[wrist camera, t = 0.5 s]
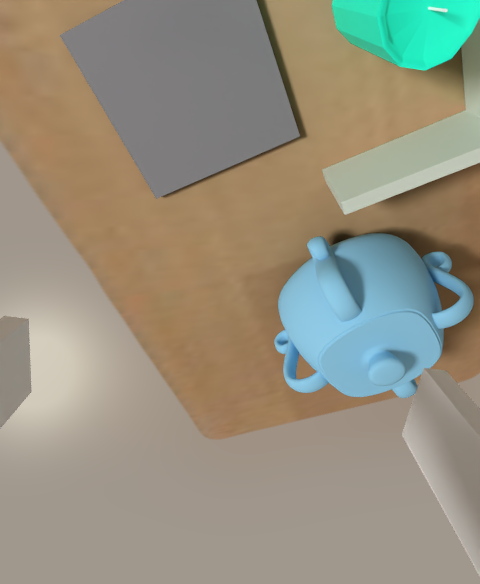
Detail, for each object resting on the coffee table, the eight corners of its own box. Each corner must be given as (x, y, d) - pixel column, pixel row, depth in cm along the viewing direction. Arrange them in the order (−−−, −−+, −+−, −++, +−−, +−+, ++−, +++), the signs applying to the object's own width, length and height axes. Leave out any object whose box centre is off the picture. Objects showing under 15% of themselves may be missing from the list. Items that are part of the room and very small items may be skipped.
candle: (354, 63, 33) (413, 99, 24) (317, -10, 30) (367, -4, 21) (425, 9, 31) (520, 24, 22) (392, -76, 28) (487, -103, 19)
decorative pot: (309, 200, 40) (344, 282, 30) (449, 237, 44) (526, 323, 33) (256, 322, 50) (269, 418, 39) (375, 345, 53) (417, 439, 42)
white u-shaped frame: (217, -174, 25) (220, -225, 19) (462, -323, 22) (563, -442, 16) (325, 180, 39) (348, 220, 33) (483, 116, 36) (541, 146, 30)
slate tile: (62, 34, 31) (59, 35, 30) (235, -61, 28) (236, -62, 27) (157, 195, 39) (156, 198, 38) (298, 133, 36) (300, 136, 36)
